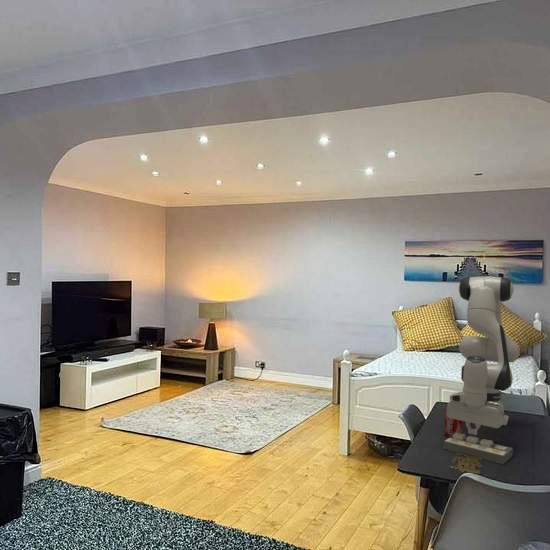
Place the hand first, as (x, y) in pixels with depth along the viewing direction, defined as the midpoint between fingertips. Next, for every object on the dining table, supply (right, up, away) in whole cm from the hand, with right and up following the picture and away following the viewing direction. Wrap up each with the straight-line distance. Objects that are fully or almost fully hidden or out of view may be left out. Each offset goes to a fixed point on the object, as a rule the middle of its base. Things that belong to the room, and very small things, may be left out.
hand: (472, 434), depth 197 cm
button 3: (+4, -4, -3) cm, 7 cm away
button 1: (-4, -4, +3) cm, 7 cm away
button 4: (+8, -5, -6) cm, 12 cm away
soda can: (-2, -6, +16) cm, 17 cm away
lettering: (-7, -6, -12) cm, 15 cm away
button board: (+1, -6, -3) cm, 7 cm away
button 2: (0, -4, 0) cm, 4 cm away
